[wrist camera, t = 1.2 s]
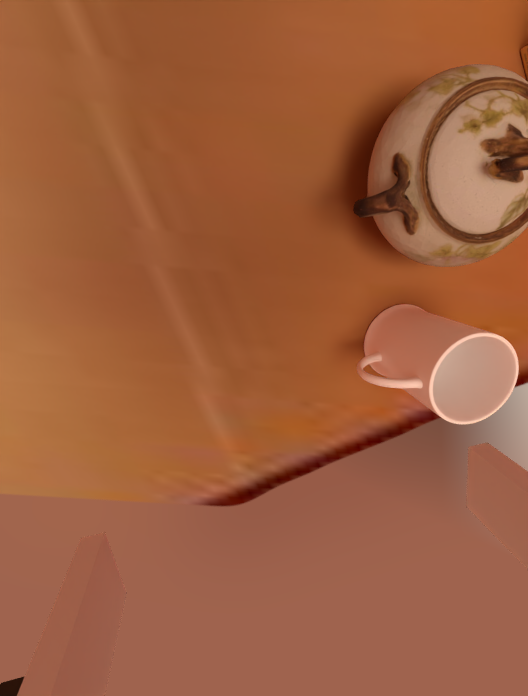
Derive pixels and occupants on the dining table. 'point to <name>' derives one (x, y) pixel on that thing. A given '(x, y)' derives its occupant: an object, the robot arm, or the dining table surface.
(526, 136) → the sugar bowl
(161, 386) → the dining table surface
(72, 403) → the dining table surface
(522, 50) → the candy box
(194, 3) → the dining table surface
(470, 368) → the mug
